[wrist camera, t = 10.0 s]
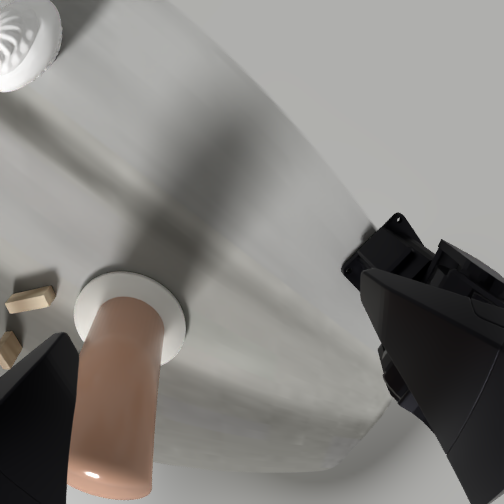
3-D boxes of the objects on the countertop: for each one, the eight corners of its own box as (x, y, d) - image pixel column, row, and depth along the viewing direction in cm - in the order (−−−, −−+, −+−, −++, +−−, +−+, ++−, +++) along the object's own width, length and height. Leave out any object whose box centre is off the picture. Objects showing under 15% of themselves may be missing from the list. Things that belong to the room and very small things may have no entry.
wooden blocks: (50, 285, 21) (36, 306, 19) (95, 370, 25) (88, 394, 22) (-12, 299, 21) (-28, 318, 18) (32, 375, 25) (23, 396, 22)
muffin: (-6, 78, 14) (-68, 76, 8) (34, 2, 13) (-18, -26, 6) (52, 105, 16) (-7, 107, 10) (98, 23, 15) (54, -10, 8)
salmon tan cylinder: (178, 325, 23) (173, 483, 12) (139, 364, 25) (121, 506, 13) (118, 282, 21) (64, 436, 10) (84, 327, 22) (33, 467, 11)
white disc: (209, 318, 24) (210, 323, 24) (145, 379, 26) (144, 384, 26) (113, 247, 21) (110, 250, 20) (59, 323, 23) (57, 327, 22)
